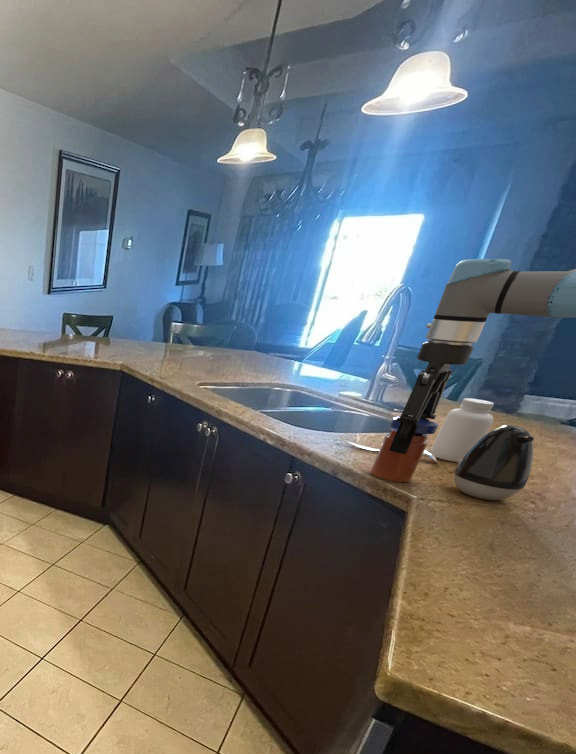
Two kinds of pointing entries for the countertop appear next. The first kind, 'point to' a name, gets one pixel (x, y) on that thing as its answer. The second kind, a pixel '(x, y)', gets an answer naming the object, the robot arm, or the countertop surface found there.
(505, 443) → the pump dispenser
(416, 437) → the jar
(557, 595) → the countertop surface
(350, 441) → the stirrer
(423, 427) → the lid
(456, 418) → the pill bottle
